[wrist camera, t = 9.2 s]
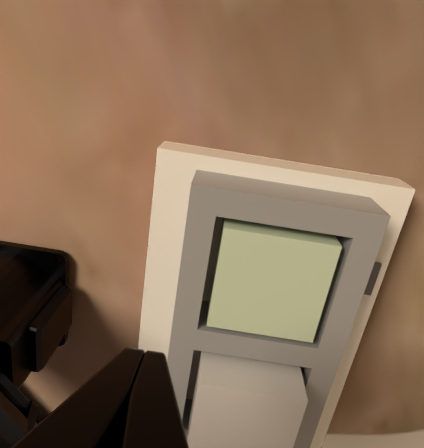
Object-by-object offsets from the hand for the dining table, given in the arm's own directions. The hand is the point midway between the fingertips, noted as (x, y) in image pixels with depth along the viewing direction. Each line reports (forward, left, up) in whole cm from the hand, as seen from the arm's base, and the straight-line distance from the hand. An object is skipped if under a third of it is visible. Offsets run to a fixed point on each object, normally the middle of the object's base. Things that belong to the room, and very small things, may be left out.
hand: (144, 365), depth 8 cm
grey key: (+4, -10, -9) cm, 14 cm away
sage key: (+4, -3, -11) cm, 12 cm away
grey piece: (+4, -9, -13) cm, 17 cm away
